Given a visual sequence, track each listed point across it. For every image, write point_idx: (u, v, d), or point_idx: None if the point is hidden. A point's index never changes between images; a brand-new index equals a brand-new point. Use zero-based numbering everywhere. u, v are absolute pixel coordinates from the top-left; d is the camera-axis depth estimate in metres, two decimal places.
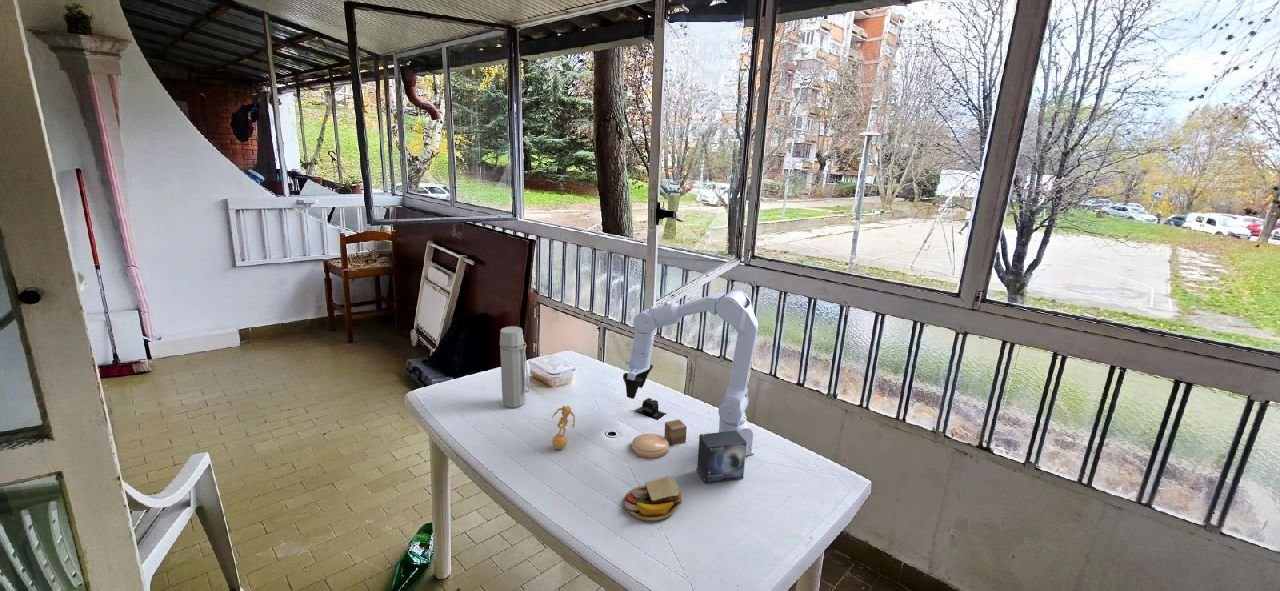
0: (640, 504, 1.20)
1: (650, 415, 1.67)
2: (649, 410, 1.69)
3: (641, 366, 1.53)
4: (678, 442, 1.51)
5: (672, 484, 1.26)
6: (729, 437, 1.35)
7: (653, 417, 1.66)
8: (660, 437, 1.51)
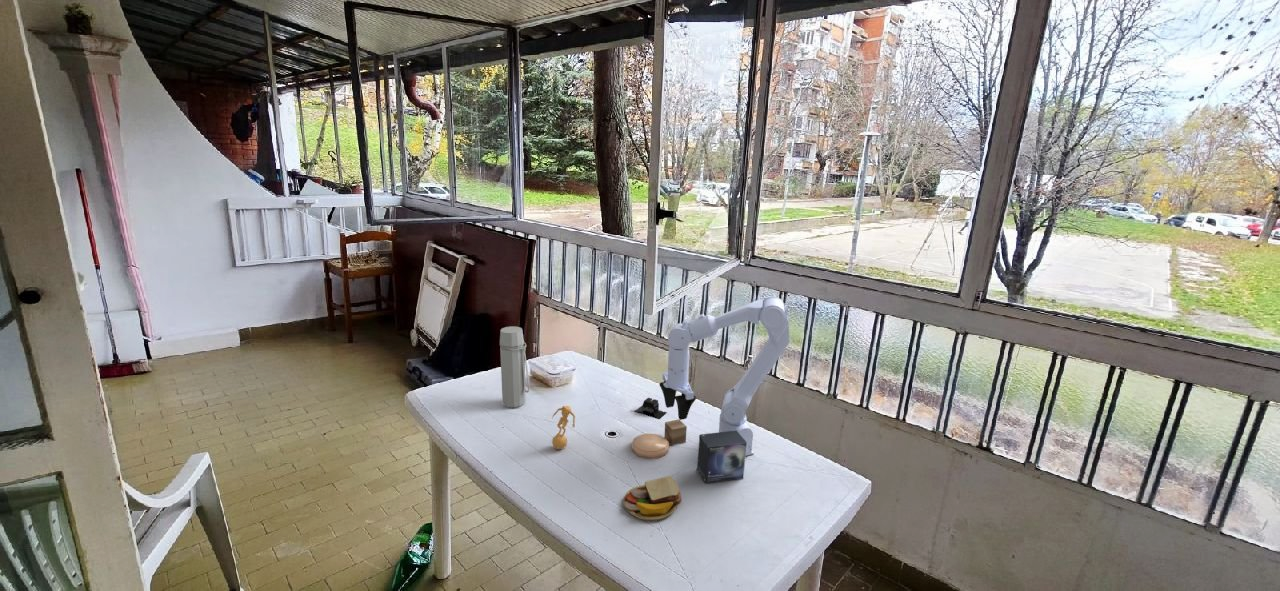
0: (640, 504, 1.20)
1: (651, 415, 1.67)
2: (649, 410, 1.70)
3: (686, 383, 1.47)
4: (678, 442, 1.51)
5: (672, 484, 1.26)
6: (730, 437, 1.35)
7: (654, 416, 1.66)
8: (660, 437, 1.51)
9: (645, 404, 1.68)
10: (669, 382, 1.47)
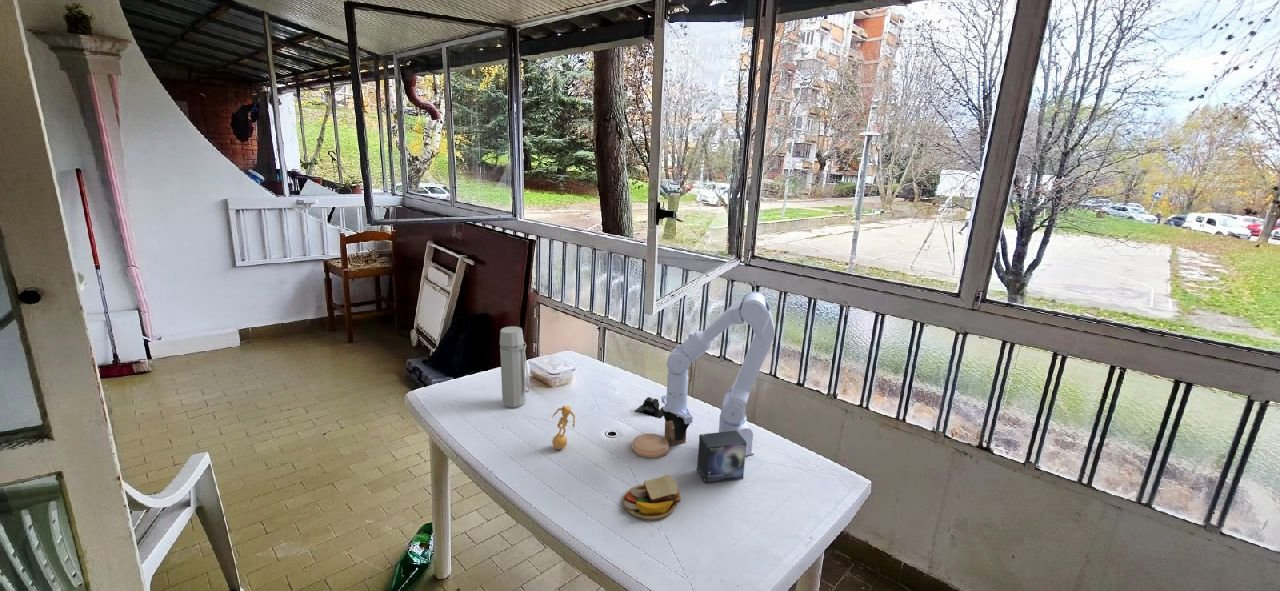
0: (640, 503, 1.20)
1: (652, 414, 1.68)
2: (650, 409, 1.70)
3: (685, 406, 1.49)
4: (678, 442, 1.51)
5: (671, 483, 1.26)
6: (730, 437, 1.35)
7: (655, 416, 1.67)
8: (660, 437, 1.51)
9: (646, 403, 1.68)
10: (668, 406, 1.49)
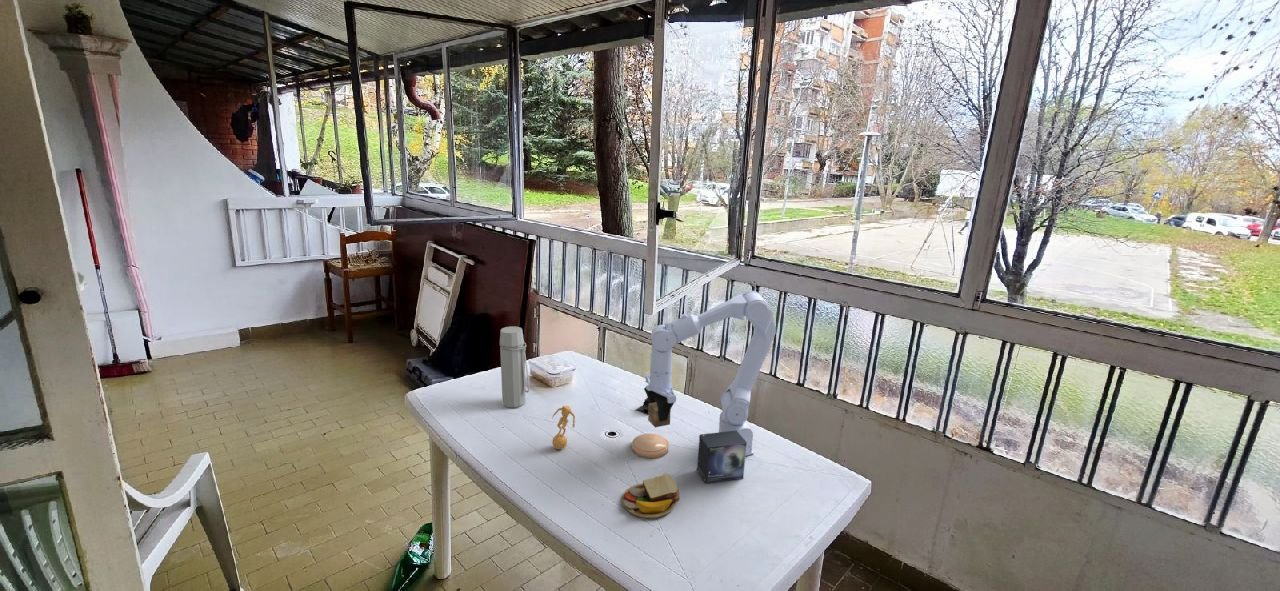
0: (639, 502, 1.20)
1: None
2: None
3: (668, 386, 1.44)
4: (662, 424, 1.46)
5: (670, 482, 1.27)
6: (730, 437, 1.35)
7: None
8: (660, 437, 1.51)
9: (646, 403, 1.69)
10: (651, 385, 1.44)
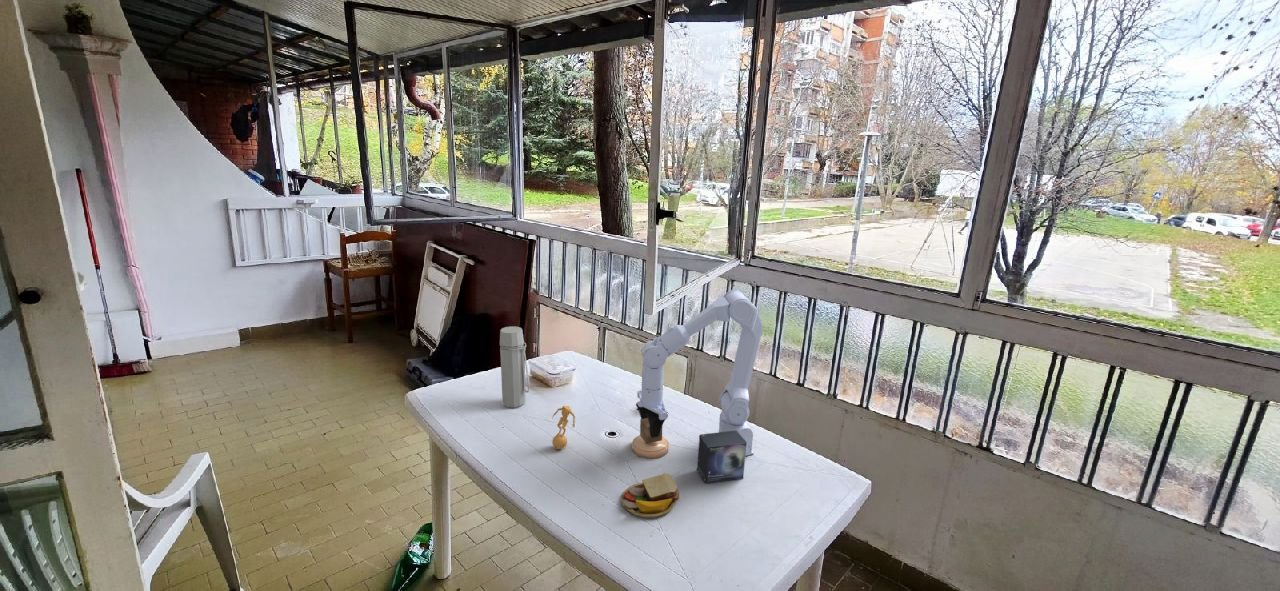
0: (639, 501, 1.21)
1: None
2: None
3: (660, 402, 1.43)
4: (654, 440, 1.46)
5: (669, 481, 1.27)
6: (730, 437, 1.35)
7: None
8: None
9: None
10: (643, 401, 1.43)
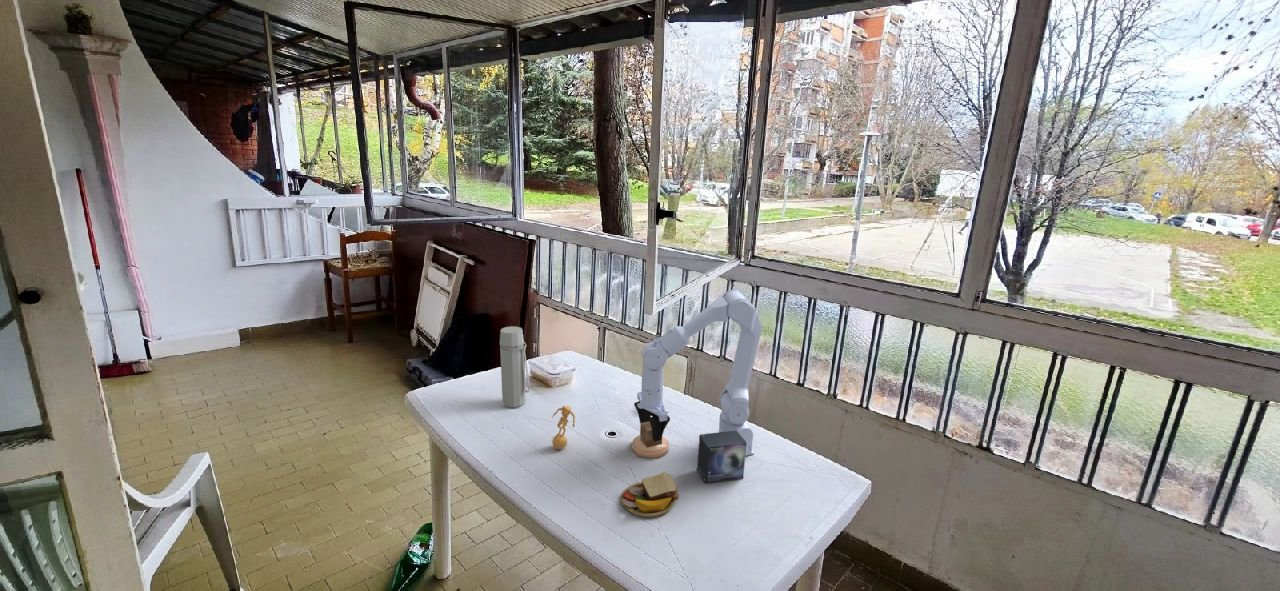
0: (639, 501, 1.21)
1: (651, 413, 1.68)
2: None
3: (660, 403, 1.43)
4: (654, 444, 1.46)
5: (668, 480, 1.27)
6: (730, 437, 1.35)
7: (653, 415, 1.67)
8: None
9: None
10: (643, 403, 1.44)
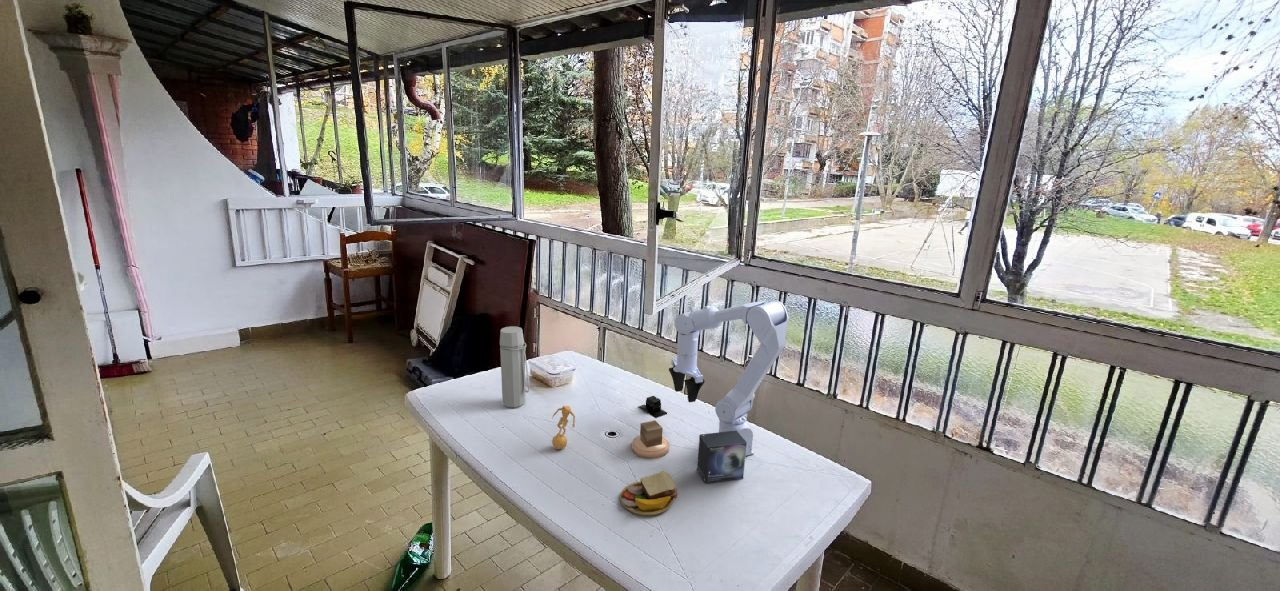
0: (638, 500, 1.21)
1: (651, 412, 1.69)
2: (652, 408, 1.71)
3: (695, 367, 1.54)
4: (654, 444, 1.46)
5: (667, 479, 1.28)
6: (730, 437, 1.35)
7: (653, 415, 1.67)
8: None
9: (647, 401, 1.70)
10: (679, 367, 1.54)
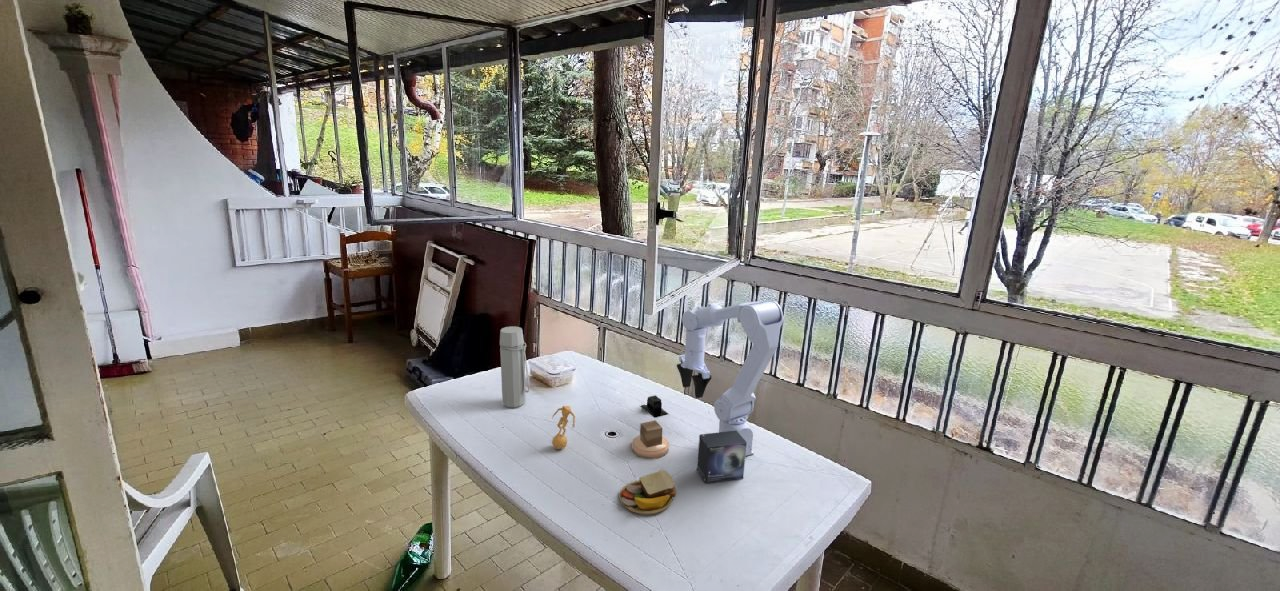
0: (638, 499, 1.22)
1: (651, 412, 1.69)
2: None
3: (702, 363, 1.57)
4: (654, 444, 1.46)
5: (666, 477, 1.28)
6: (730, 437, 1.35)
7: (652, 414, 1.68)
8: None
9: (648, 400, 1.71)
10: (686, 363, 1.57)
